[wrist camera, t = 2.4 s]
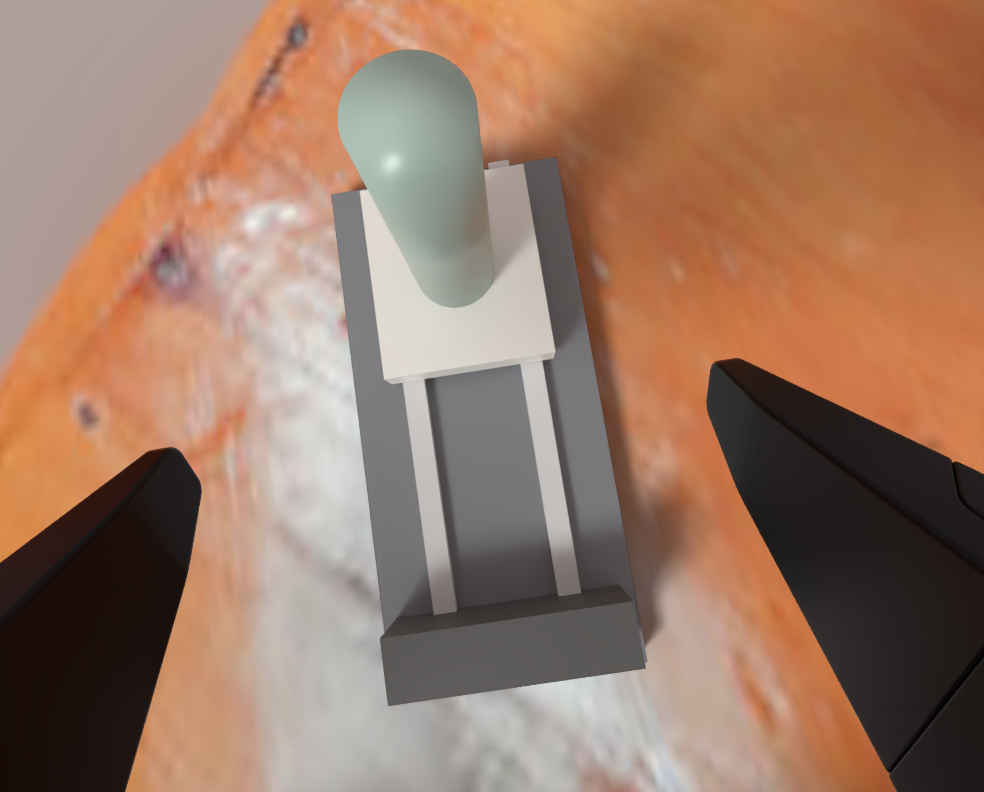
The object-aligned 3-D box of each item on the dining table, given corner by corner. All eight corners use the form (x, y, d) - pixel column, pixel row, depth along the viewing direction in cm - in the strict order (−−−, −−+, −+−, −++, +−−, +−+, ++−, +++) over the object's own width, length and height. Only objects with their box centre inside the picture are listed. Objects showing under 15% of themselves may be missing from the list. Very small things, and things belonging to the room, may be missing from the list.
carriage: (553, 358, 21) (587, 256, 11) (391, 384, 21) (276, 307, 11) (522, 180, 21) (528, -66, 12) (368, 206, 22) (242, -16, 12)
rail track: (641, 653, 21) (666, 690, 17) (398, 688, 21) (375, 732, 17) (554, 170, 23) (561, 117, 20) (339, 206, 23) (308, 160, 20)
